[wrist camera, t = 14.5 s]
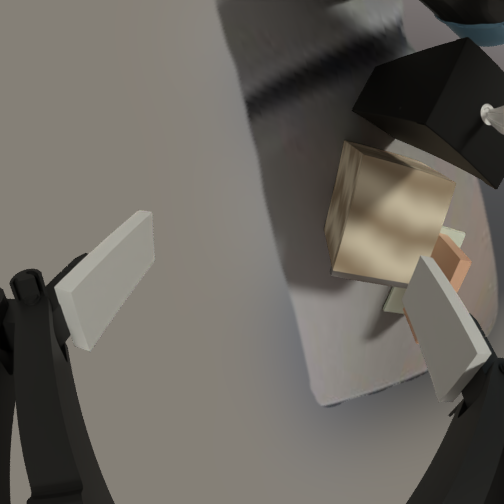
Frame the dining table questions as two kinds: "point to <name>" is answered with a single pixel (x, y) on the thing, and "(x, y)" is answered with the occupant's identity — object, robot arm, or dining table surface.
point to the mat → (397, 293)
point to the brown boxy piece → (383, 215)
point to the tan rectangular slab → (448, 265)
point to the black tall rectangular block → (443, 106)
